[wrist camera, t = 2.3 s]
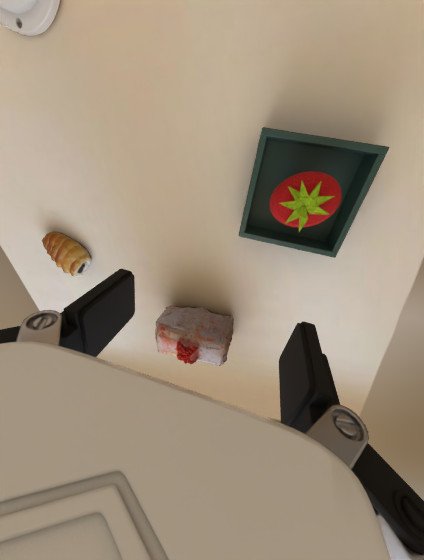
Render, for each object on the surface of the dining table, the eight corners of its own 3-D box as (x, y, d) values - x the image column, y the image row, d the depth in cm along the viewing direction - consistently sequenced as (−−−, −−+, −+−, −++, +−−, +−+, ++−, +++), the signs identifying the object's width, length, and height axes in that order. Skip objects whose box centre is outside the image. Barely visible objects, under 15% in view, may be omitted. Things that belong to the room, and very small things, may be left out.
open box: (263, 131, 27) (262, 127, 23) (372, 148, 25) (390, 146, 22) (241, 227, 33) (238, 236, 30) (327, 246, 32) (335, 257, 28)
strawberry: (328, 212, 29) (352, 234, 21) (270, 219, 31) (271, 242, 23) (331, 163, 26) (359, 165, 18) (268, 175, 29) (267, 182, 20)
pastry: (47, 246, 44) (29, 252, 41) (55, 221, 41) (37, 227, 38) (85, 275, 46) (71, 283, 42) (96, 253, 42) (82, 261, 39)
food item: (171, 328, 47) (150, 364, 39) (168, 298, 44) (144, 331, 35) (232, 339, 45) (224, 380, 36) (235, 308, 41) (226, 346, 33)
